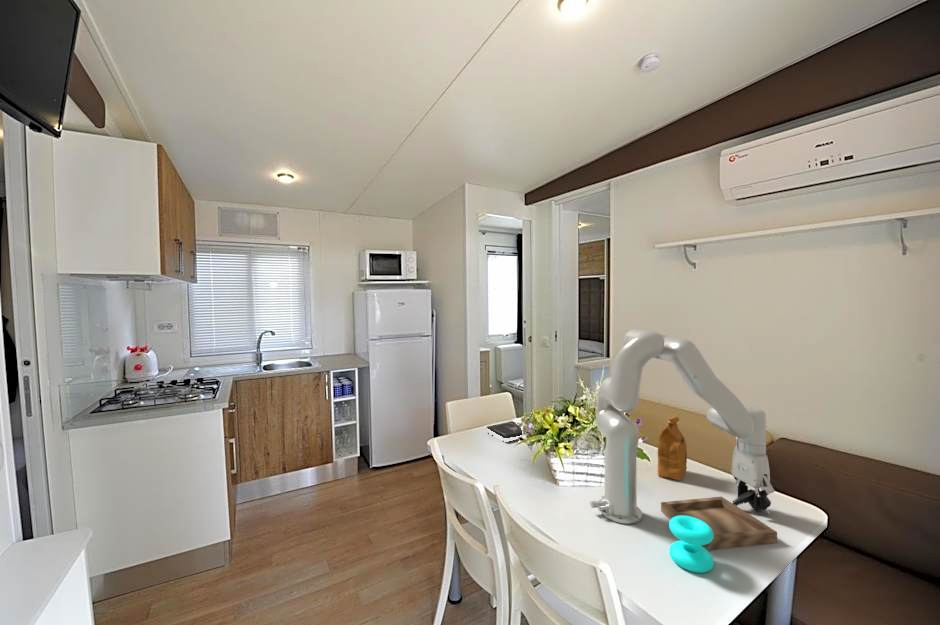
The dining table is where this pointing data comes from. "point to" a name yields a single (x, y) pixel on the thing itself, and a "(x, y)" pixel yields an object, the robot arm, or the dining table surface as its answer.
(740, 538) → the wooden tray
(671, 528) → the donuts
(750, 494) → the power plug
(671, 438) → the coffee package
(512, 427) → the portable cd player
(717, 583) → the dining table surface
